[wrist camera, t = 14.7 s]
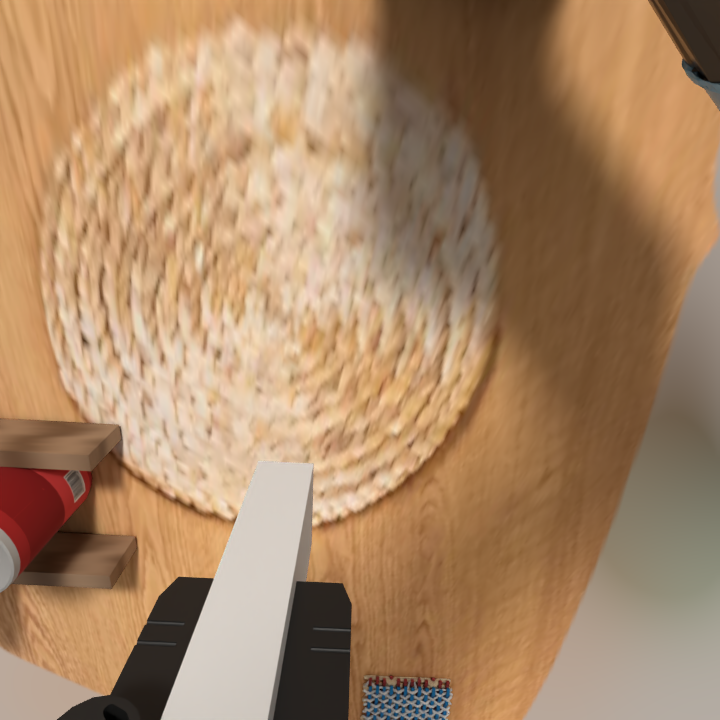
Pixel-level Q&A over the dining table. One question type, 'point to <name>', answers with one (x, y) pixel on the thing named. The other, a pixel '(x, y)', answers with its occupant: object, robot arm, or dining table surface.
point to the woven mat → (406, 698)
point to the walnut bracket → (67, 452)
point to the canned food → (34, 512)
